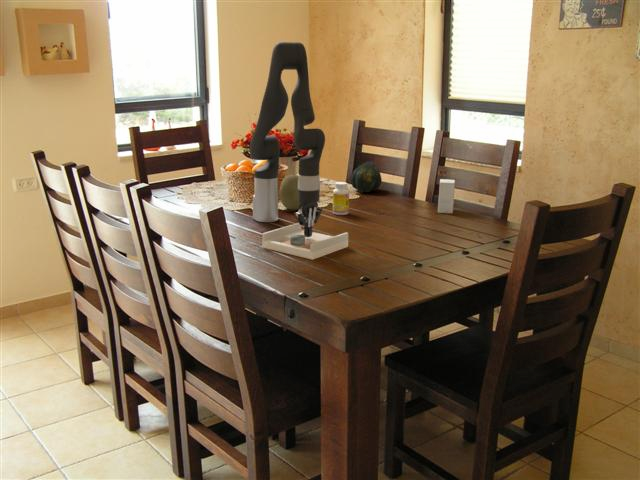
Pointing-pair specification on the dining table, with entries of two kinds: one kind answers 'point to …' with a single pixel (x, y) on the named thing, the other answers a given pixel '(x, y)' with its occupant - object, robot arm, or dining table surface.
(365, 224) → the dining table surface
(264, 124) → the robot arm
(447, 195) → the small box
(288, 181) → the fruit
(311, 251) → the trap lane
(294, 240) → the puck
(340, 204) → the supplement bottle
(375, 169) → the squash
